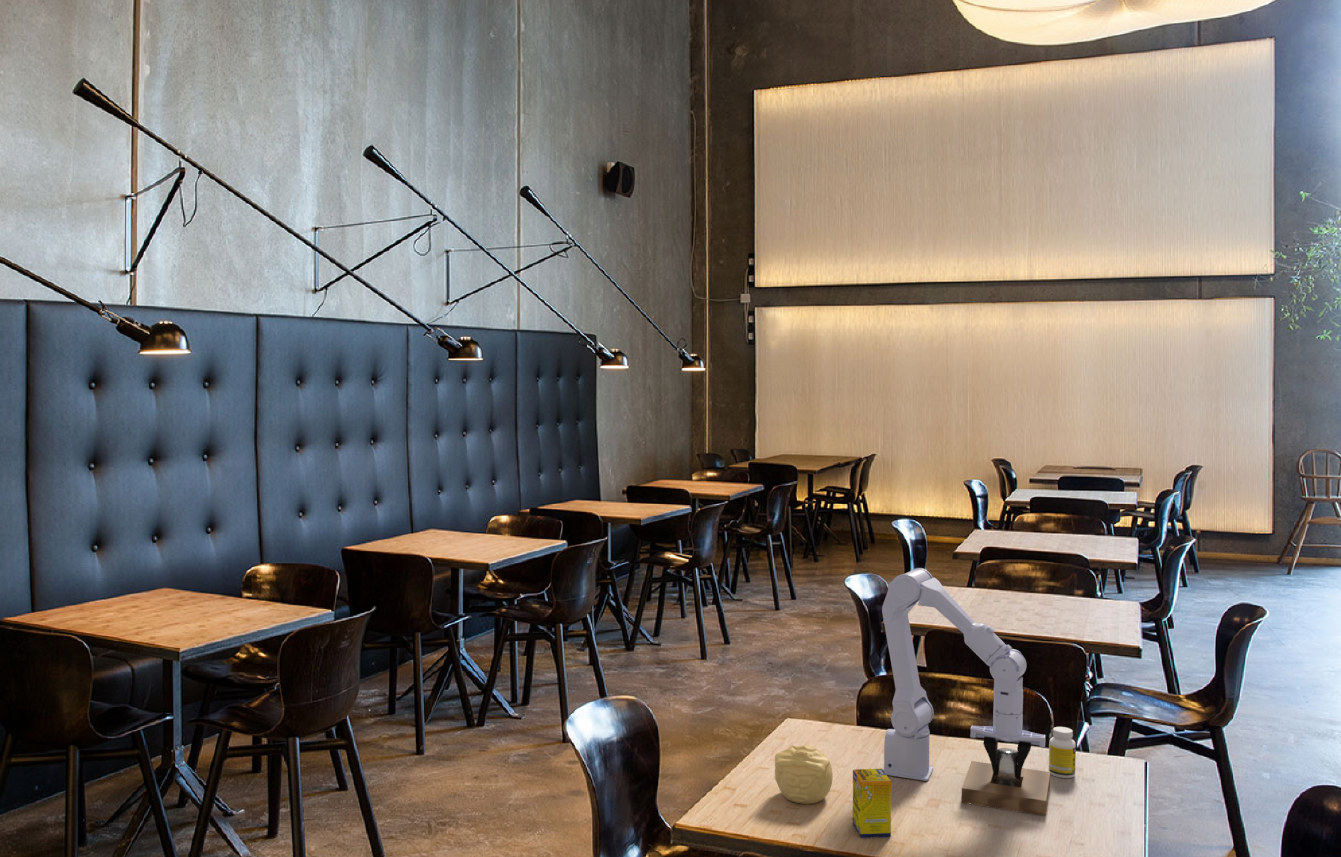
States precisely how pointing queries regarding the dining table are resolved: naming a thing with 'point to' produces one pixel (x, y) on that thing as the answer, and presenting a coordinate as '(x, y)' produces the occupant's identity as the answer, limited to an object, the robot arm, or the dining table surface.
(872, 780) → the supplement box
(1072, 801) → the dining table surface
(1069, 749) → the supplement bottle
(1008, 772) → the steel pin
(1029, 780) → the socket block
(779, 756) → the sculpture
